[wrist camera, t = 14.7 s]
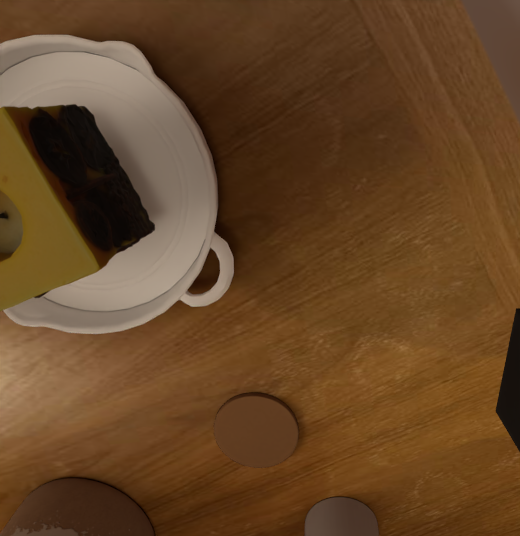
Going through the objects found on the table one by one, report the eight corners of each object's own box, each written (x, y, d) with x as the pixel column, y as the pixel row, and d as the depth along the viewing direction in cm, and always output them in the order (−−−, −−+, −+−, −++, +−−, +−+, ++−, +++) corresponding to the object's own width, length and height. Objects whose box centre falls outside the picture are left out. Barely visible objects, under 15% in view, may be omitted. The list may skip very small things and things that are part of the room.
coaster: (214, 389, 46) (213, 393, 46) (300, 395, 46) (300, 399, 45) (215, 460, 49) (214, 464, 48) (296, 467, 48) (296, 471, 48)
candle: (159, 228, 37) (108, 272, 28) (51, 279, 40) (-30, 335, 30) (89, 100, 35) (7, 99, 26) (-23, 162, 37) (-135, 183, 28)
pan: (-12, -45, 36) (-49, -62, 32) (309, 143, 38) (309, 148, 35) (-96, 235, 44) (-134, 248, 40) (173, 379, 46) (161, 404, 43)
